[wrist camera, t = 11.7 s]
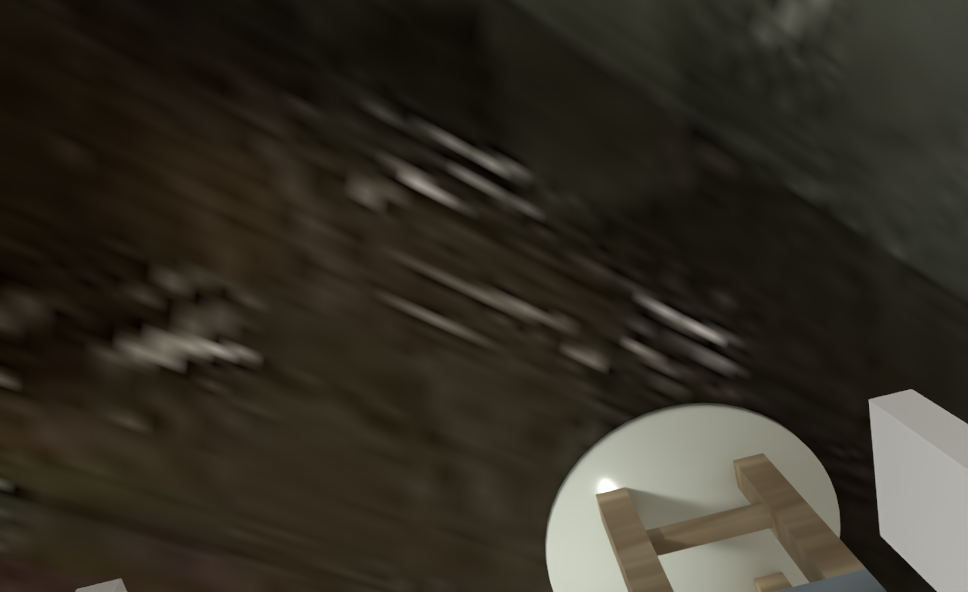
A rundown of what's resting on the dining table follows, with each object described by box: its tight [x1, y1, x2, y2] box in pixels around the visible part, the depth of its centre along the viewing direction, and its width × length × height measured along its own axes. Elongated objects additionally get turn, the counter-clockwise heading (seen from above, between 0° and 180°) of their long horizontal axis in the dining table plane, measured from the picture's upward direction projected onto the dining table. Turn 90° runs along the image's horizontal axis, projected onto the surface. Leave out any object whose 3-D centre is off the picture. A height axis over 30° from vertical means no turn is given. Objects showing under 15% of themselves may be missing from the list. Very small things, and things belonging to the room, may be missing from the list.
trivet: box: [545, 403, 840, 592], centre depth 41 cm, size 16×16×1 cm
